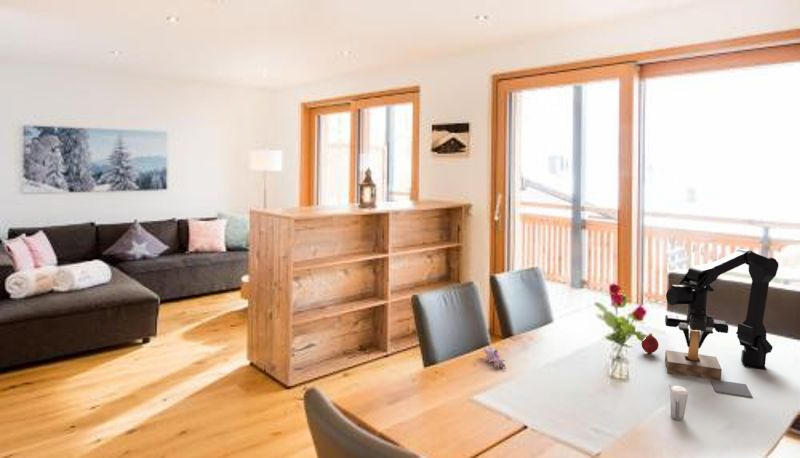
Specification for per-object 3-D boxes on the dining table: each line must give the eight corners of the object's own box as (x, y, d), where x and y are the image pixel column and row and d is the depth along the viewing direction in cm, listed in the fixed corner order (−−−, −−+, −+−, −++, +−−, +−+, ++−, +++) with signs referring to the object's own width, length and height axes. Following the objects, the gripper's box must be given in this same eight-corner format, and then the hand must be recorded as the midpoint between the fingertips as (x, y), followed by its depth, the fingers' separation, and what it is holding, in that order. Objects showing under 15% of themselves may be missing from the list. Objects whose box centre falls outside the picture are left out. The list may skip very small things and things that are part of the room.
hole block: (715, 367, 188) (716, 356, 188) (720, 380, 177) (721, 369, 177) (664, 360, 194) (665, 350, 194) (667, 372, 183) (668, 361, 183)
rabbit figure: (509, 373, 185) (494, 351, 199) (511, 358, 184) (495, 337, 198) (492, 374, 184) (478, 352, 198) (494, 359, 182) (479, 338, 196)
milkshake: (662, 414, 153) (664, 381, 152) (679, 413, 154) (682, 380, 153) (671, 422, 149) (674, 388, 148) (689, 421, 149) (692, 387, 148)
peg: (697, 357, 186) (699, 330, 185) (698, 360, 183) (700, 332, 182) (687, 356, 187) (689, 328, 186) (688, 359, 184) (690, 331, 183)
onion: (659, 357, 197) (661, 336, 196) (642, 356, 199) (644, 335, 197) (655, 351, 203) (656, 331, 202) (639, 350, 204) (640, 330, 203)
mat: (745, 385, 174) (745, 384, 174) (752, 398, 164) (752, 396, 164) (710, 380, 177) (710, 379, 177) (715, 392, 168) (715, 391, 168)
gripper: (668, 306, 179) (665, 351, 181) (733, 313, 172) (728, 359, 174) (666, 298, 189) (663, 340, 191) (727, 304, 182) (723, 348, 184)
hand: (693, 347), depth 185 cm, fingers closed on peg, 3 cm apart
